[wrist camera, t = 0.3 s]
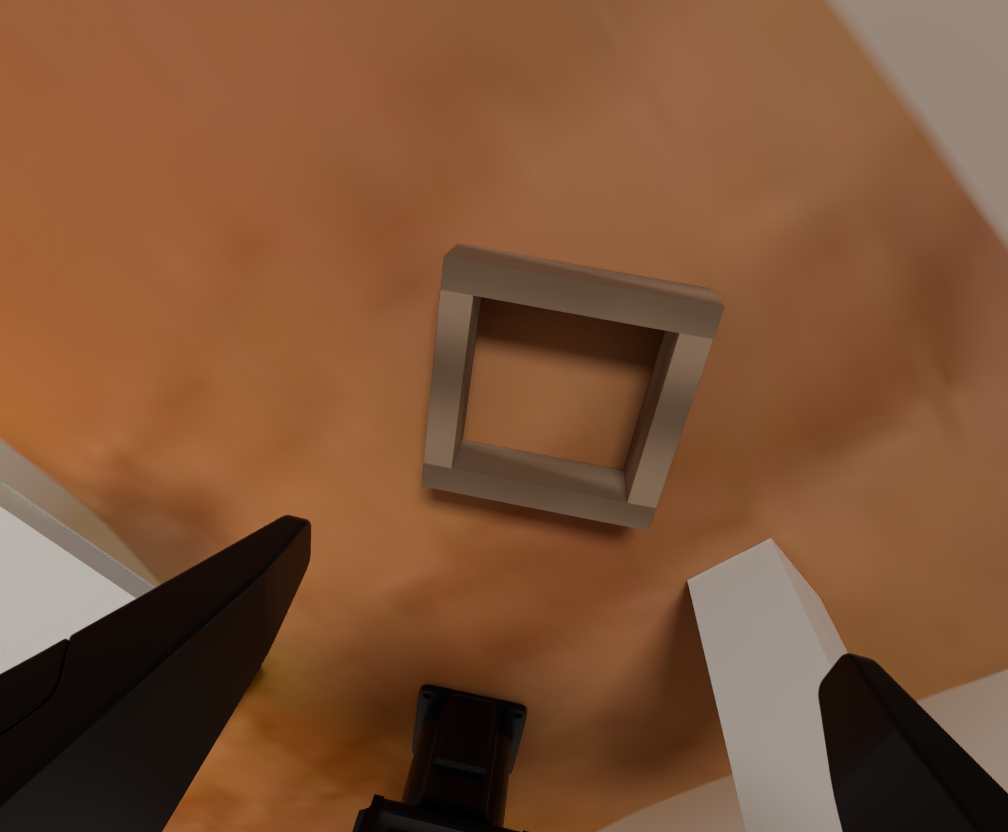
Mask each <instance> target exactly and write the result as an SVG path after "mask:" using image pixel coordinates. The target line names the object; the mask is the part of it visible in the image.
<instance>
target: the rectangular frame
mask: <svg viewBox="0 0 1008 832" xmlns="http://www.w3.org/2000/svg"><path fill="white" fill-rule="evenodd" d="M481 297H484V298H489V299H495V300H500V301H506V302H511V303H517V304H522V305H528V306H533V307H539V308H544V309H550V310H555V311H561V312H566V313H572V314H577V315H583V316H588V317H594V318H599V319H605V320H610V321H616V322H621V323H627V324H632V325H638V326H643V327H649V328H654V329H660V330H665V332H664V335H663V338H662V342H661V345H660V349H659V352H658V355H657V359H656V362H655V365H654V369H653V372H652V376H651V379H650V382H649V386H648V389H647V393H646V396H645V399H644V403H643V406H642V410H641V413H640V416H639V420H638V423H637V426H636V430H635V433H634V437H633V440H632V443H631V447H630V450H629V454H628V457H627V460H626V464H625V467H624V471H622V470H617V469H612V468H607V467H601V466H596V465H591V464H586V463H581V462H575V461H570V460H565V459H560V458H555V457H549V456H544V455H539V454H534V453H529V452H524V451H518V450H513V449H508V448H503V447H498V446H492V445H487V444H482V443H477V442H472V441H467V440H462V439H463V432H464V424H465V417H466V409H467V402H468V394H469V387H470V379H471V372H472V364H473V357H474V349H475V342H476V334H477V326H478V319H479V311H480V304H481ZM723 309H724V306H723V304H722V303H721V302H720V301H719V299H718V298H717V297H716V296H715V294H714V293H713V292H712V291H711V290H710V289H709V288H703V287H697V286H692V285H686V284H681V283H675V282H669V281H664V280H658V279H653V278H647V277H641V276H636V275H630V274H625V273H619V272H613V271H608V270H602V269H597V268H591V267H585V266H580V265H574V264H569V263H563V262H557V261H552V260H546V259H541V258H535V257H529V256H524V255H518V254H513V253H507V252H501V251H496V250H490V249H485V248H479V247H473V246H468V245H462V244H457V245H456V246H455V247H454V248H452V249H451V250H450V251H449V252H448V253H447V254H446V255H445V256H444V260H443V270H442V281H441V291H440V301H439V311H438V322H437V332H436V342H435V352H434V362H433V373H432V383H431V393H430V403H429V413H428V424H427V434H426V444H425V454H424V464H423V475H422V485H421V486H423V487H428V488H433V489H438V490H443V491H448V492H454V493H459V494H464V495H469V496H474V497H479V498H484V499H489V500H494V501H499V502H504V503H509V504H514V505H520V506H525V507H530V508H535V509H540V510H545V511H550V512H555V513H560V514H565V515H570V516H575V517H580V518H586V519H591V520H596V521H601V522H606V523H611V524H616V525H621V526H626V527H631V528H636V529H641V530H646V531H648V530H649V527H650V524H651V521H652V518H653V515H654V512H655V509H656V507H657V504H658V501H659V498H660V495H661V492H662V489H663V486H664V483H665V480H666V477H667V474H668V471H669V468H670V465H671V462H672V459H673V456H674V454H675V451H676V448H677V445H678V442H679V439H680V436H681V433H682V430H683V427H684V424H685V421H686V418H687V415H688V412H689V409H690V406H691V403H692V401H693V398H694V395H695V392H696V389H697V386H698V383H699V380H700V377H701V374H702V371H703V368H704V365H705V362H706V359H707V356H708V353H709V350H710V348H711V345H712V342H713V339H714V336H715V333H716V330H717V327H718V324H719V321H720V318H721V315H722V312H723Z"/></svg>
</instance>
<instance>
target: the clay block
mask: <svg viewBox="0 0 1008 832" xmlns="http://www.w3.org/2000/svg"><path fill="white" fill-rule="evenodd" d="M687 581H688V585H689V590H690V594H691V598H692V603H693V607H694V611H695V615H696V620H697V624H698V628H699V632H700V637H701V641H702V645H703V649H704V654H705V658H706V662H707V666H708V671H709V675H710V679H711V683H712V688H713V692H714V696H715V701H716V705H717V709H718V713H719V718H720V722H721V726H722V730H723V735H724V739H725V743H726V747H727V752H728V756H729V760H730V764H731V769H732V773H733V777H734V781H735V786H736V790H737V794H738V798H739V803H740V807H741V811H742V815H743V820H744V824H745V828H746V832H842V828H841V824H840V820H839V816H838V812H837V808H836V803H835V799H834V794H833V789H832V784H831V778H830V771H829V765H828V758H827V752H826V745H825V738H824V732H823V725H822V719H821V712H820V705H819V699H818V690H819V686H820V683H821V681H822V680H823V678H824V677H825V676H826V674H827V673H828V672H829V671H830V669H831V668H832V667H833V665H834V664H835V663H836V662H837V660H838V659H839V658H840V657H841V656H842V655H844V654H846V653H848V652H847V650H846V648H845V646H844V645H843V643H842V641H841V639H840V637H839V635H838V633H837V631H836V629H835V627H834V625H833V623H832V621H831V619H830V617H829V615H828V613H827V611H826V609H825V607H824V605H823V603H822V601H821V599H820V597H819V596H818V595H817V594H816V593H815V591H814V590H813V589H812V588H811V586H810V585H809V584H808V583H807V582H806V580H805V579H804V578H803V577H802V575H801V574H800V573H799V572H798V571H797V569H796V568H795V567H794V566H793V565H792V563H791V562H790V561H789V560H788V558H787V557H786V556H785V555H784V554H783V552H782V551H781V550H780V549H779V547H778V546H777V545H776V544H775V543H774V541H773V540H772V539H771V538H769V539H767V540H765V541H763V542H761V543H759V544H757V545H756V546H754V547H752V548H750V549H748V550H746V551H744V552H742V553H740V554H738V555H736V556H734V557H732V558H730V559H728V560H726V561H724V562H722V563H720V564H718V565H716V566H714V567H712V568H710V569H708V570H706V571H704V572H702V573H700V574H698V575H696V576H694V577H692V578H690V579H688V580H687Z"/></svg>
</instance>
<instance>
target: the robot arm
mask: <svg viewBox="0 0 1008 832" xmlns="http://www.w3.org/2000/svg"><path fill="white" fill-rule="evenodd" d="M310 555H311V524H310V522H309V521H308V520H307V519H303V518H299V517H295V516H291V515H285V516H282V517H280V518H279V519H277V520H275V521H273V522H272V523H270V524H268V525H266V526H264V527H263V528H261V529H259V530H257V531H256V532H254V533H252V534H250V535H248V536H247V537H245V538H243V539H241V540H239V541H238V542H236V543H234V544H232V545H231V546H229V547H227V548H225V549H223V550H222V551H220V552H218V553H216V554H215V555H213V556H211V557H209V558H207V559H206V560H204V561H202V562H200V563H199V564H197V565H195V566H193V567H191V568H190V569H188V570H186V571H184V572H183V573H181V574H179V575H177V576H175V577H174V578H172V579H170V580H168V581H167V582H165V583H163V584H161V585H159V586H158V587H156V588H154V589H152V590H151V591H149V592H147V593H145V594H143V595H142V596H140V597H138V598H136V599H134V600H133V601H131V602H129V603H127V604H126V605H124V606H122V607H120V608H118V609H117V610H115V611H113V612H111V613H110V614H108V615H106V616H104V617H102V618H101V619H99V620H97V621H95V622H94V623H92V624H90V625H88V626H86V627H85V628H83V629H81V630H79V631H78V632H76V633H74V634H72V635H71V636H70V638H69V640H68V639H63V640H61V641H59V642H58V643H56V644H54V645H52V646H50V647H49V648H47V649H45V650H43V651H42V652H40V653H38V654H36V655H34V656H33V657H31V658H29V659H27V660H25V661H23V662H21V663H20V664H18V665H16V666H14V667H12V668H10V669H8V670H7V671H5V672H3V673H1V674H0V832H162V831H163V829H164V827H165V826H166V824H167V822H168V821H169V819H170V817H171V816H172V814H173V812H174V811H175V809H176V807H177V806H178V804H179V802H180V801H181V799H182V797H183V796H184V794H185V792H186V791H187V789H188V787H189V786H190V784H191V782H192V780H193V779H194V777H195V775H196V774H197V772H198V770H199V769H200V767H201V765H202V764H203V762H204V760H205V759H206V757H207V755H208V754H209V752H210V750H211V749H212V747H213V745H214V744H215V742H216V740H217V739H218V737H219V735H220V734H221V732H222V730H223V729H224V727H225V725H226V723H227V722H228V720H229V718H230V717H231V715H232V713H233V712H234V710H235V708H236V707H237V705H238V703H239V702H240V700H241V698H242V697H243V695H244V693H245V692H246V690H247V688H248V687H249V685H250V683H251V682H252V680H253V678H254V677H255V675H256V673H257V672H258V670H259V668H260V666H261V665H262V663H263V661H264V659H265V658H266V656H267V654H268V652H269V650H270V648H271V646H272V644H273V642H274V640H275V638H276V636H277V633H278V631H279V629H280V627H281V625H282V622H283V620H284V618H285V616H286V614H287V612H288V609H289V607H290V605H291V603H292V601H293V598H294V596H295V594H296V592H297V590H298V587H299V585H300V583H301V581H302V579H303V577H304V574H305V572H306V570H307V567H308V565H309V561H310ZM818 699H819V705H820V712H821V719H822V725H823V732H824V738H825V745H826V752H827V758H828V765H829V771H830V778H831V784H832V789H833V794H834V799H835V803H836V808H837V812H838V816H839V820H840V824H841V828H842V832H1008V793H1007V792H1006V791H1005V790H1004V789H1003V788H1002V787H1001V786H1000V785H999V784H998V783H997V782H996V781H995V780H994V779H992V777H991V776H990V775H989V774H988V773H987V772H986V771H985V770H984V769H983V768H982V767H981V766H980V765H979V764H978V763H977V762H976V761H975V760H974V759H973V758H972V757H971V756H970V755H969V754H968V753H967V752H966V751H965V750H964V749H963V748H962V747H960V745H959V744H958V743H957V742H956V741H955V740H954V739H953V738H952V737H951V736H950V735H949V734H948V733H947V732H946V731H945V730H944V729H943V728H942V727H941V726H940V725H939V724H938V723H937V722H936V721H935V720H934V719H933V718H932V717H931V716H930V715H929V714H928V713H926V711H925V710H924V709H923V708H922V707H921V706H920V705H919V704H918V703H917V702H916V701H915V700H914V699H913V698H912V697H911V696H910V695H909V694H908V693H907V692H906V691H905V690H904V689H903V688H902V687H901V686H900V685H899V684H898V683H897V682H896V681H895V680H894V679H893V678H892V677H891V676H890V675H889V674H888V673H887V672H886V671H885V670H884V669H883V668H882V667H881V666H880V665H879V664H878V663H876V662H875V661H874V660H872V659H870V658H867V657H863V656H859V655H855V654H850V653H846V654H844V655H842V656H841V657H840V658H839V659H838V660H837V662H836V663H835V664H834V665H833V667H832V668H831V669H830V671H829V672H828V673H827V674H826V676H825V677H824V678H823V680H822V681H821V683H820V686H819V690H818ZM526 715H527V709H526V707H525V706H524V705H521V704H517V703H513V702H508V701H503V700H498V699H494V698H489V697H484V696H479V695H475V694H470V693H465V692H461V691H456V690H451V689H446V688H442V687H437V686H432V685H423V686H422V687H421V689H420V693H419V698H418V706H417V715H416V723H415V731H414V740H413V748H412V752H413V753H414V755H413V759H412V763H411V767H410V770H409V774H408V778H407V781H406V785H405V789H404V793H403V796H402V800H401V802H397V801H392V800H388V799H384V796H381V795H376V794H375V795H374V798H373V801H372V803H371V806H369V808H366V809H363V810H359V813H358V816H357V819H356V822H355V825H354V828H353V831H352V832H519V831H515V830H511V829H507V828H503V823H504V815H505V806H506V797H507V788H508V779H509V774H511V773H512V770H513V766H514V762H515V758H516V755H517V751H518V747H519V743H520V739H521V736H522V732H523V728H524V724H525V720H526ZM523 832H528V831H524V830H523Z"/></svg>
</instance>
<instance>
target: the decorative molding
mask: <svg viewBox="0 0 1008 832" xmlns="http://www.w3.org/2000/svg"><path fill="white" fill-rule="evenodd" d="M154 588H156V587H155V586H153V585H152V584H150V583H149V582H147V581H146V580H144V579H143V578H142V577H140V576H139V575H137V574H135V573H134V572H133V571H131V570H130V569H128V568H127V567H126V566H124V565H123V564H121V563H120V562H118V561H117V560H115V559H114V558H112V557H111V556H110V555H108V554H107V553H105V552H104V551H102V550H101V549H99V548H98V547H96V546H95V545H94V544H92V543H91V542H89V541H88V540H86V539H85V538H83V537H82V536H81V535H79V534H78V533H76V532H75V531H73V530H72V529H70V528H69V527H67V526H66V525H65V524H63V523H62V522H60V521H59V520H57V519H56V518H54V517H53V516H51V515H50V514H49V513H47V512H45V511H44V510H43V509H41V508H40V507H38V506H37V505H35V504H34V503H33V502H31V501H30V500H28V499H27V498H25V497H24V496H23V495H21V494H20V493H18V492H17V491H15V490H14V489H12V488H11V487H9V486H8V485H6V484H5V483H4V482H2V481H1V480H0V674H1V673H3V672H5V671H7V670H8V669H10V668H12V667H14V666H16V665H18V664H20V663H21V662H23V661H25V660H27V659H29V658H31V657H33V656H34V655H36V654H38V653H40V652H42V651H43V650H45V649H47V648H49V647H50V646H52V645H54V644H56V643H58V642H59V641H61V640H63V639H68V640H69V638H70V636H71V635H72V634H74V633H76V632H78V631H79V630H81V629H83V628H85V627H86V626H88V625H90V624H92V623H94V622H95V621H97V620H99V619H101V618H102V617H104V616H106V615H108V614H110V613H111V612H113V611H115V610H117V609H118V608H120V607H122V606H124V605H126V604H127V603H129V602H131V601H133V600H134V599H136V598H138V597H140V596H142V595H143V594H145V593H147V592H149V591H151V590H152V589H154Z"/></svg>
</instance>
